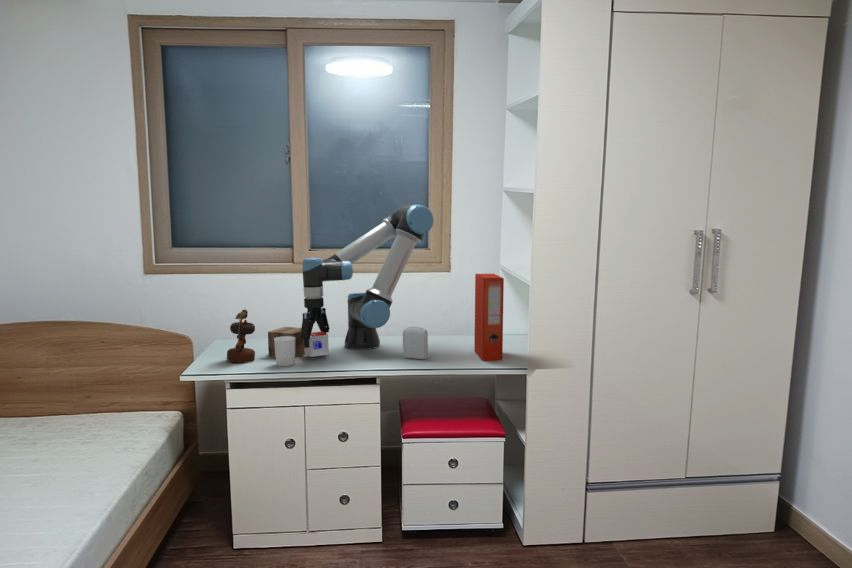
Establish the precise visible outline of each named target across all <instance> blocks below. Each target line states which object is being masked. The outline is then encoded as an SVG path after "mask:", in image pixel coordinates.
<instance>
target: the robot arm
mask: <svg viewBox="0 0 852 568" xmlns="http://www.w3.org/2000/svg"><path fill="white" fill-rule="evenodd" d="M434 220H435V219H434V215H433V212H432V211H431V210H430V209H429V208H428V207H427V206H425V205H421V204H413V205H412V204H406V205H403V206H401V207H399V208H397V209H396V210H394V212H392V213H390V214H389V215H388V216H386V217H385V218H383V220H382V223H380V224H378V225H377V226H375V227H373V228H372V229H371V230H369V231H367V232H366V233H364V234H363V235H362V236H360V237H358V238H357V239H355V240H354V241H353V242H351V243H349V244H348V245H346V246H345V247H343V248H342V249H340V250H339V251H337V252H336V253H334V254H333V255H331V256H329V257H328V258H324V259H322V258H321V257H306V258H303V260H302V268H301V269H302V270H301V271H302V281H303V282H302V284H303V297H304V298H303V303H304V304H303V306H304V309H307V310H306V311H307V312H303V313H302V322H301V327H300V328H301V335H300V338H301V339H304V347H305V355H304V356H306V357H309V356H312V345H311V339H310V336H311V333H313V328H314V324H317V327H318V329H319V332H322V331H323V332H324V333H326V334H328V333H329V332H330V325H329V321H328V317H327V312H326V311H327V310H326V307H324V306H325V305H324V304H325V303H324V297H323V296H324V286H323V285H324V283H323V282H333V281H346V280H347V281H349V280H351V279H352V278H353V276H354V274H353V273H354V271H353V270H354V269H353V264H355V263H356V262H357V261H359V260H360V259H362V258H364V257H365V256H367V255H369V254H370V253H371V252H373V251H374V250H376V249H377V248H379V247H381V246H382V245H384V244H385V243H386V242H388V241H389V240H390V239H392V238H394V241H393V243H392V245H391V247H390V248H389V249H390V250H389V251H388V252H387V255H386V257H385V259H384V262H383V263H382V266H381V268H380V270H379V272H378V274H377V276H376V278H375V280H374V282H373V285H372V286H371V287H370V288H368V289H366V291H365V292H357V293H356V292H354V293H353V292H352V293H349V294H348V295H347V301H346V302H347V321H348V322H347V323H348V325H347V326H348V328H347V332H346V335H345V339H344V347H345V348H346V347H347V349H350V348H351V350H368V349H369V348H370V349H375V348H374V347H376V348H378V347H380V346H379V345H381V340H380V337H379V334H378V331H377V329H379V328H381V327H384V326H385V325H386V324H387V323H388V321H389V319H390V317H391V309H390V308H391V306H392V304H393V299H392V295H393V293H394V292H395V289H396V287H397V285H398V282H399V280H400V278H401V276H402V274H403V272H404V270H405V268H406V265H407V264H408V261H409V259H410V257H411V254H412V253H413V252H414V251H413V250H414V248H415V246H416V245H417V244H419V243H421V242H422V240H423V239H424V236H425V234H428V232H430V231H431V230H432V229H433V226H434ZM377 346H378V347H377ZM370 349H369V350H370Z"/></svg>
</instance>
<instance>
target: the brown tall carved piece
mask: <svg viewBox="0 0 852 568" xmlns="http://www.w3.org/2000/svg"><path fill="white" fill-rule="evenodd" d="M248 314H249V312H248V310H247V309H246V308H244V309H242V310H241V311H240V312H238V313H237V315H236V316H235V318H234V319H235V320H239V321H237V322H232V323H231V325H230V326H229V330H230V332H231V333H232V334H233V335H236V339H238V340H237V343H236V344H235V346H234V347H232V348H229V349H228V350H227V351H226V360H227V361H228V362H233V363H251V362H254V361H255V360H256V359H255V358H256V351H255V350H254V349H252V348H249V347H245V345H246V343H247V340H246V336H247V335H253V333H255V331H256V325H255V324H254V323H252V322H248V320H247V318H248ZM243 320H244V321H243Z"/></svg>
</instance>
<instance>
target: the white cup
mask: <svg viewBox="0 0 852 568" xmlns="http://www.w3.org/2000/svg"><path fill="white" fill-rule="evenodd" d="M274 345H275V356H276V357H275V362H276V365H277V366H279V367H290V366H294V365H295V364H296V363H295V361H296V358H295V337H291V336H283V337H277V338H274Z"/></svg>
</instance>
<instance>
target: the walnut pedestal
mask: <svg viewBox="0 0 852 568" xmlns="http://www.w3.org/2000/svg"><path fill="white" fill-rule="evenodd" d="M301 328H302V327H295V326H294V327H292V326H282V327H279V328H276V329H273V330H270V331H267V341H268V342H267V344H268V357H269V356H270V358H276V356H275V345H274V338H277V337H283V336H291V337H295V359H297V358H299V357H303V356H306V355H305V353H304V342H303V339H301V338H300V335H301Z"/></svg>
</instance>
